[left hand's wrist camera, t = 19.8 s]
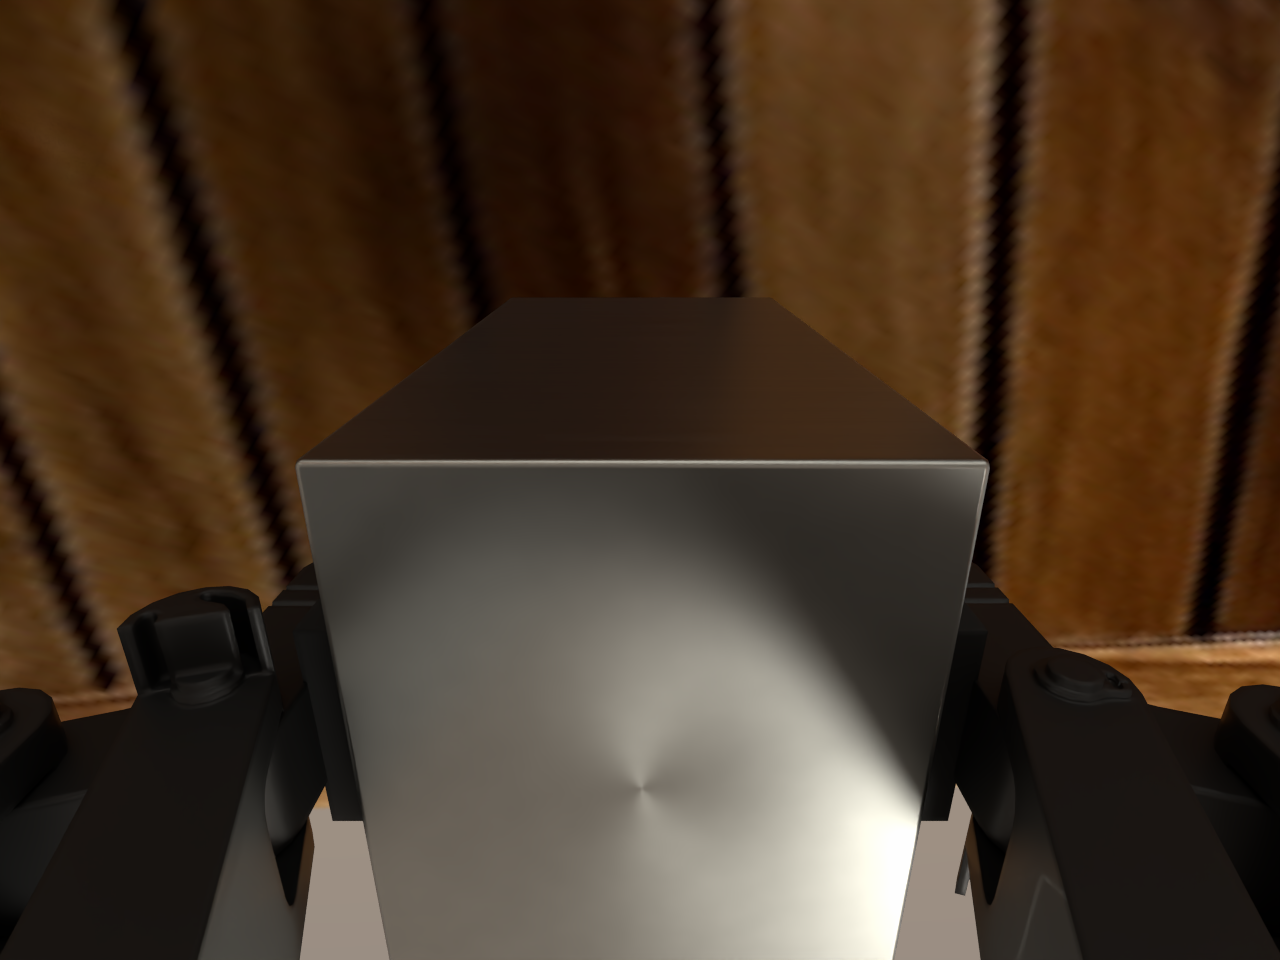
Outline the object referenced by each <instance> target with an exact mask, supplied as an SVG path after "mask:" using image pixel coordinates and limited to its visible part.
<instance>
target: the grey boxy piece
mask: <svg viewBox="0 0 1280 960" xmlns="http://www.w3.org/2000/svg"><path fill="white" fill-rule="evenodd" d="M295 469H296V474H297V479H298V484H299V489H300V495H301V500H302V505H303V510H304V515H305V521H306V526H307V531H308V536H309V542H310V547H311V552H312V557H313V562H314V568H315V573H316V578H317V583H318V588H319V594H320V599H321V604H322V609H323V615H324V620H325V625H326V630H327V635H328V641H329V646H330V651H331V656H332V662H333V667H334V672H335V677H336V682H337V688H338V693H339V698H340V703H341V708H342V714H343V719H344V724H345V729H346V735H347V740H348V745H349V750H350V755H351V761H352V766H353V771H354V776H355V781H356V787H357V792H358V797H359V802H360V808H361V813H362V818H363V823H364V828H365V834H366V839H367V844H368V849H369V854H370V859H371V865H372V870H373V875H374V880H375V885H376V891H377V896H378V901H379V906H380V912H381V917H382V922H383V927H384V933H385V938H386V943H387V948H388V954H389V959H390V960H894V957H895V952H896V947H897V942H898V936H899V931H900V926H901V921H902V916H903V911H904V905H905V900H906V895H907V890H908V885H909V880H910V875H911V870H912V864H913V859H914V854H915V849H916V844H917V839H918V834H919V828H920V823H921V818H922V813H923V808H924V803H925V798H926V793H927V787H928V782H929V777H930V772H931V767H932V762H933V757H934V751H935V746H936V741H937V736H938V731H939V726H940V721H941V715H942V710H943V705H944V700H945V695H946V690H947V685H948V679H949V674H950V669H951V664H952V659H953V654H954V649H955V643H956V638H957V633H958V628H959V623H960V618H961V613H962V608H963V602H964V597H965V592H966V587H967V582H968V577H969V572H970V566H971V561H972V556H973V551H974V546H975V541H976V536H977V530H978V525H979V520H980V515H981V510H982V505H983V500H984V494H985V489H986V484H987V479H988V474H989V469H990V468H989V462H988V460H987V459H985V458H984V457H983V456H981V455H980V454H979V453H977V452H976V451H975V450H973V449H972V448H971V447H969V446H968V445H967V444H965V443H964V442H963V441H961V440H960V439H959V438H957V437H956V436H955V435H953V434H952V433H951V432H949V431H948V430H947V429H945V428H944V427H943V426H941V425H940V424H939V423H937V422H936V421H935V420H933V419H932V418H931V417H929V416H928V415H927V414H925V413H924V412H923V411H921V410H920V409H919V408H917V407H916V406H915V405H913V404H912V403H911V402H909V401H908V400H907V399H905V398H904V397H903V396H901V395H900V394H899V393H897V392H896V391H895V390H893V389H892V388H891V387H889V386H888V385H887V384H885V383H884V382H883V381H881V380H880V379H879V378H877V377H876V376H875V375H873V374H872V373H871V372H869V371H868V370H867V369H865V368H864V367H863V366H861V365H860V364H859V363H857V362H856V361H855V360H853V359H852V358H851V357H849V356H848V355H847V354H845V353H844V352H843V351H841V350H840V349H839V348H837V347H836V346H835V345H833V344H832V343H831V342H829V341H828V340H827V339H825V338H824V337H823V336H821V335H820V334H819V333H817V332H816V331H815V330H813V329H812V328H811V327H809V326H808V325H807V324H805V323H804V322H803V321H801V320H800V319H799V318H797V317H796V316H795V315H793V314H792V313H791V312H789V311H788V310H787V309H785V308H784V307H783V306H781V305H780V304H779V303H777V302H776V301H775V300H773V299H772V298H511V299H509V300H508V301H507V302H505V303H504V304H503V305H502V306H500V307H499V308H498V309H496V310H495V311H494V312H492V313H491V314H490V315H488V316H487V317H486V318H484V319H483V320H482V321H480V322H479V323H478V324H476V325H475V326H474V327H472V328H471V329H470V330H468V331H467V332H466V333H465V334H463V335H462V336H461V337H459V338H458V339H457V340H455V341H454V342H453V343H451V344H450V345H449V346H447V347H446V348H445V349H443V350H442V351H441V352H439V353H438V354H437V355H435V356H434V357H433V358H431V359H430V360H429V361H428V362H426V363H425V364H424V365H422V366H421V367H420V368H418V369H417V370H416V371H414V372H413V373H412V374H410V375H409V376H408V377H406V378H405V379H404V380H402V381H401V382H400V383H398V384H397V385H396V386H394V387H393V388H392V389H391V390H389V391H388V392H387V393H385V394H384V395H383V396H381V397H380V398H379V399H377V400H376V401H375V402H373V403H372V404H371V405H369V406H368V407H367V408H365V409H364V410H363V411H361V412H360V413H359V414H357V415H356V416H355V417H354V418H352V419H351V420H350V421H348V422H347V423H346V424H344V425H343V426H342V427H340V428H339V429H338V430H336V431H335V432H334V433H332V434H331V435H330V436H328V437H327V438H326V439H324V440H323V441H322V442H320V443H319V444H318V445H317V446H315V447H314V448H313V449H311V450H310V451H309V452H307V453H306V454H305V455H303V456H302V457H301V458H299V459H298V460H297V462H296V467H295Z"/></svg>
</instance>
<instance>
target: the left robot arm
mask: <svg viewBox="0 0 1280 960" xmlns="http://www.w3.org/2000/svg"><path fill="white" fill-rule="evenodd" d="M272 603H273V604H272V606H268V607H267V609H266V610H265V611H264V612H263V613H262V609H261V605H260V600H259V597H258V596H257V595H255V594H254V593H252V592H251V591H250V590H248V589H243V588H237V587H232V586H223V587H205V588H200V589H196V590H191V591H186V592H181V593H178V594H175V595H172V596H169V597H167V598H164V599H161V600H159V601H156V602H153V603H151V604H149V605H148V606H146V607H144V608H142V609H141V610H139V611H137V612H135V613H134V614H132V615H130V616H129V617H128V618H127V619H126V620H125V621H124V622H123V623H122V624H121V625H120V626H119V627H118V628H117V631H118V634H119V637H120V640H121V643H122V646H123V650H124V653H125V656H126V659H127V662H128V665H129V668H130V671H131V675H132V678H133V681H134V684H135V687H136V690H137V693H138V696H137V698H136V700H135V701H134V703H133V705H132V707H131V708H128V709H124V710H120V711H114V712H109V713H104V714H99V715H94V716H89V717H84V718H79V719H74V720H68V721H63V722H61V721H60V718H59V715H58V713H57V710H56V707H55V705H54V702H53V699H52V697H50V696H49V695H47V694H46V693H44V692H43V691H42V690H38V689H28V688H13V689H6V690H0V960H300V952H301V945H302V937H303V930H304V922H305V914H306V907H307V899H308V892H309V884H310V876H311V869H312V862H313V854H314V840H313V833H312V828H311V824H310V819H309V814H310V813H311V811H312V809H313V807H314V805H315V803H316V802H317V800H318V798H319V796H320V794H321V792H322V790H323V789H324V787H326V792H327V796H328V801H329V806H330V810H331V815H332V820H333V821H363V818H362V813H361V808H360V802H359V797H358V792H357V787H356V781H355V776H354V771H353V766H352V761H351V755H350V750H349V745H348V740H347V735H346V729H345V724H344V719H343V714H342V708H341V703H340V698H339V693H338V688H337V682H336V677H335V672H334V667H333V662H332V656H331V651H330V646H329V641H328V635H327V630H326V625H325V620H324V615H323V609H322V604H321V599H320V594H319V588H318V583H317V578H316V573H315V568H314V562H313V563H311V564H309V565H308V566H306V567H304V568H303V569H302V570H301V571H300V572H299V574H298V575H297V576H296V577H295V578H294V579H293V580H292V581H291V582H290V583H289V584H288V586H287V590H283V591H282V592H281V593H280V594H279V595H278V596H277V598H276V599H275V600H274V601H273V602H272ZM956 784H957V786H958V788H959V789H960V791H961V793H962V795H963V797H964V798H965V801H966V802H967V804H968V806H969V808H970V810H971V812H972V815H971V819H970V824H969V828H968V832H967V837H966V841H965V845H964V850H963V854H962V859H961V863H960V867H959V872H958V876H957V882H956V889H955V893H957V894H960V895H965V893H966V889H967V885H968V881H969V879H970V882H971V890H972V897H973V905H974V912H975V920H976V927H977V935H978V943H979V950H980V958H981V960H1280V687H1277V686H1270V685H1263V684H1262V685H1252V686H1242V687H1240V688H1239V689H1237V690H1236V691H1234V692H1233V693H1231V694H1230V696H1229V699H1228V701H1227V704H1226V707H1225V709H1224V712H1223V715H1222V717H1221V719H1219V718H1214V717H1208V716H1203V715H1198V714H1193V713H1188V712H1183V711H1178V710H1173V709H1167V708H1162V707H1157V706H1153V705H1149V704H1147V702H1146V700H1145V698H1144V696H1143V694H1142V693H1141V692H1140V691H1139V690H1138V688H1137V687H1136V686H1135V685H1134V684H1133V682H1132V681H1131V680H1130V679H1129V678H1127V677H1126V676H1124V675H1123V674H1121V673H1120V672H1118V671H1117V670H1116V669H1114V668H1113V667H1111V666H1110V665H1108V664H1105V663H1103V662H1101V661H1098V660H1096V659H1094V658H1091V657H1089V656H1087V655H1084V654H1080V653H1076V652H1072V651H1068V650H1064V649H1060V648H1053V647H1052V646H1051V645H1050V644H1049V643H1048V641H1047V640H1046V639H1045V638H1044V637H1043V636H1042V635H1041V634H1040V633H1039V632H1038V631H1037V630H1036V628H1035V627H1034V626H1033V625H1032V624H1031V623H1030V622H1029V621H1028V620H1027V619H1026V618H1025V617H1024V615H1023V614H1022V613H1021V612H1020V611H1019V610H1018V609H1017V608H1016V607H1015V606H1014V605H1013V604H1012V603H1009V599H1008V598H1007V597H1006V596H1005V595H1004V594H1003V593H1002V592H1001V590H1000V589H999V588H995V586H994V583H993V582H992V581H991V580H990V579H989V577H988V576H987V575H986V574H985V573H984V572H983V571H982V570H981V569H980V568H979V567H978V566H977V565H976V564H974V563H972V562H971V566H970V572H969V577H968V582H967V587H966V592H965V597H964V602H963V608H962V613H961V618H960V623H959V628H958V633H957V638H956V643H955V649H954V654H953V659H952V664H951V669H950V674H949V679H948V685H947V690H946V695H945V700H944V705H943V710H942V715H941V721H940V726H939V731H938V736H937V741H936V746H935V751H934V757H933V762H932V767H931V772H930V777H929V782H928V787H927V793H926V798H925V803H924V808H923V813H922V818H921V821H948V818H949V813H950V808H951V804H952V799H953V794H954V790H955V785H956Z"/></svg>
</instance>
